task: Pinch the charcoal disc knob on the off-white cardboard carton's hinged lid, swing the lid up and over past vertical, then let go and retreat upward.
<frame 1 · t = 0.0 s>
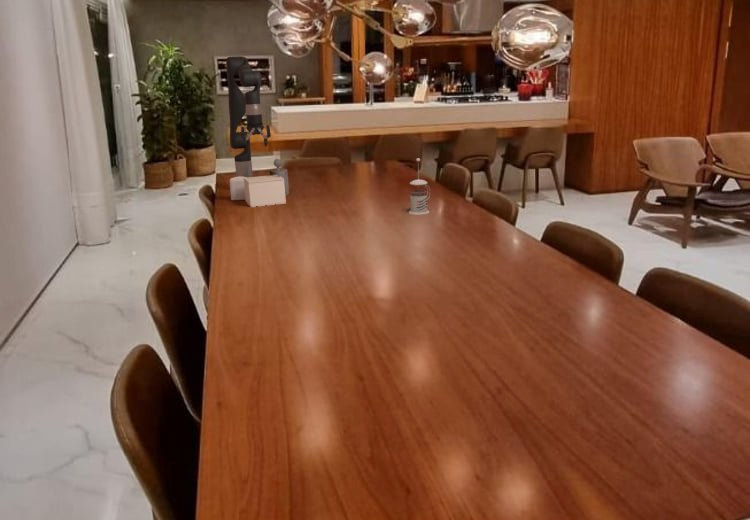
hand: (256, 147, 315), 29 cm above the table, fingers open, 8 cm apart
carton lid: (263, 169, 324), point 17 cm above the table, hinge at 0.0°
carton: (265, 202, 329), on the table
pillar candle: (280, 195, 349), on the table
french press: (420, 212, 296), on the table
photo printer: (241, 199, 340), on the table
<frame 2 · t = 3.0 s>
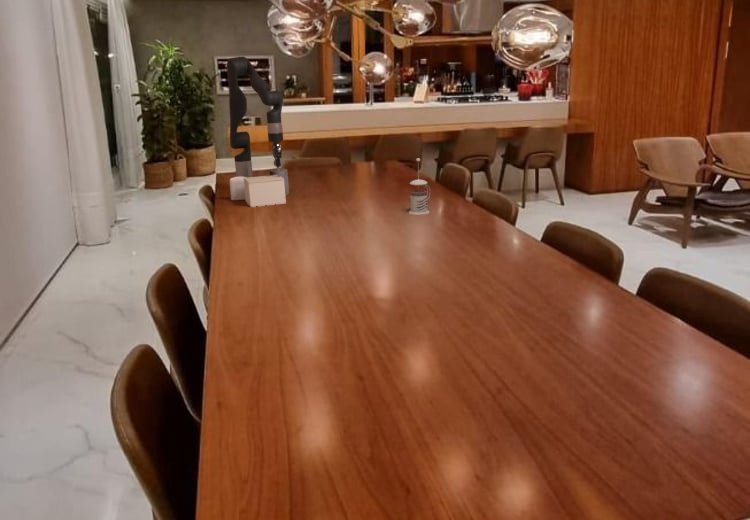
hand: (278, 166, 327), 18 cm above the table, fingers closed
carton lid: (263, 169, 324), point 17 cm above the table, hinge at 0.0°, touching gripper
everything else where it was.
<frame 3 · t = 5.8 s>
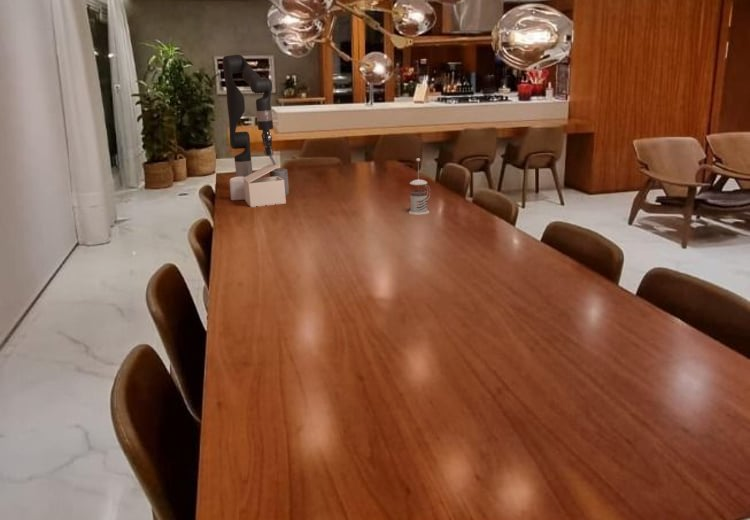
hand: (268, 154, 323), 25 cm above the table, fingers closed
carton lid: (258, 164, 323), point 20 cm above the table, hinge at 22.4°, touching gripper
everything else where it was.
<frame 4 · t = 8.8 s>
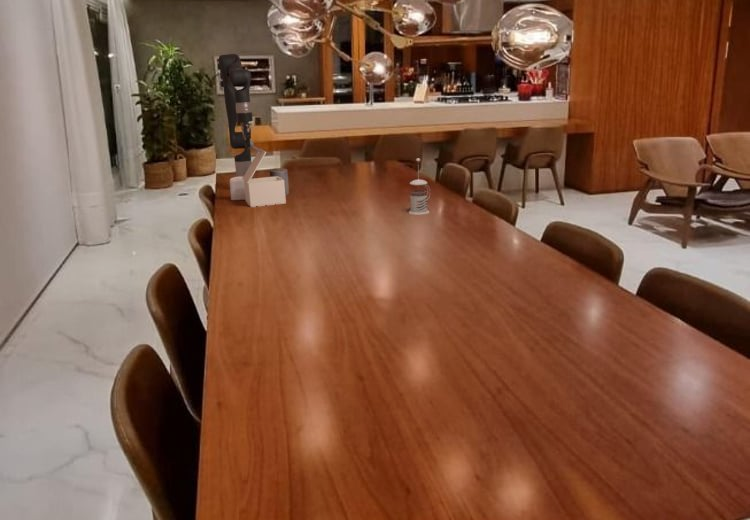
hand: (248, 147, 319), 29 cm above the table, fingers closed
carton lid: (247, 160, 320), point 23 cm above the table, hinge at 54.3°, touching gripper
everything else where it was.
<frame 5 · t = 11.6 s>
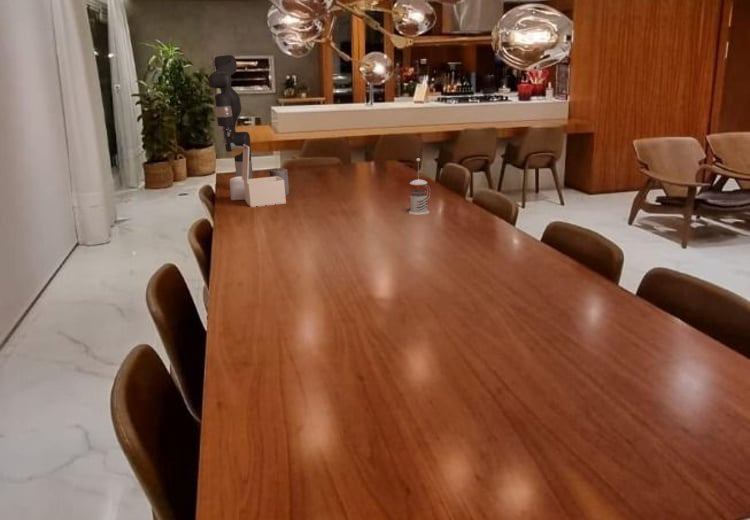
hand: (228, 151, 316), 28 cm above the table, fingers closed
carton lid: (236, 162, 319), point 22 cm above the table, hinge at 82.5°, touching gripper
everything else where it was.
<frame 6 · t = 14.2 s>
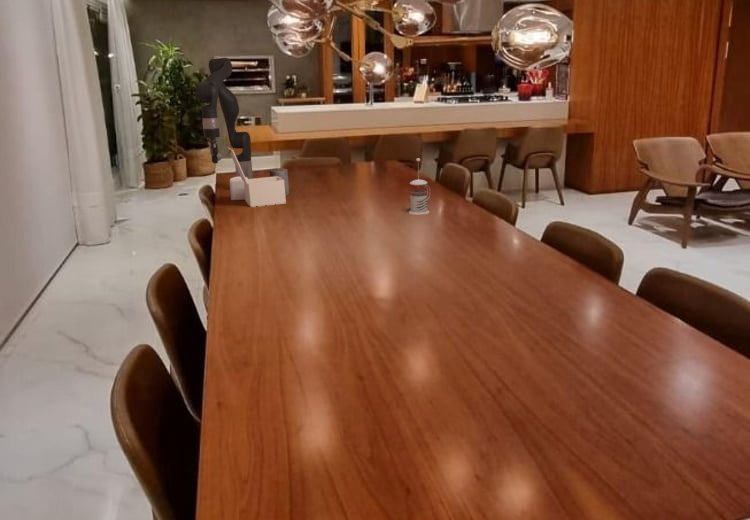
hand: (215, 162, 315), 23 cm above the table, fingers open, 3 cm apart
carton lid: (229, 168, 318), point 19 cm above the table, hinge at 108.4°
everything else where it was.
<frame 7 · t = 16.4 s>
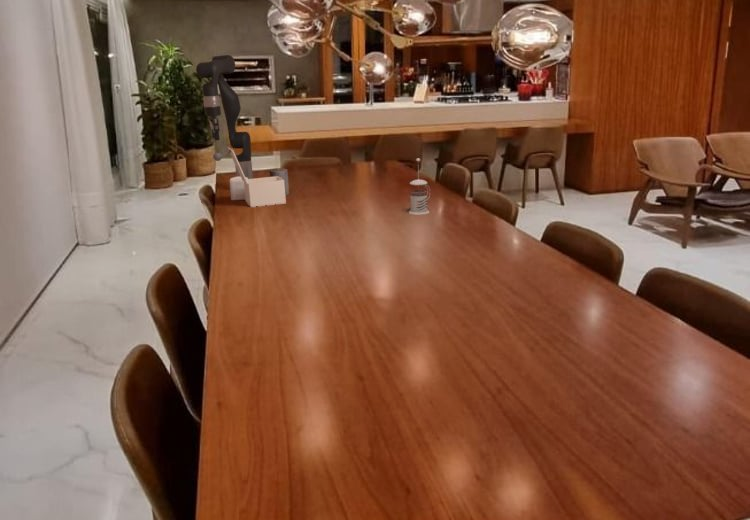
hand: (216, 139, 314), 34 cm above the table, fingers open, 8 cm apart
nothing on the table moved.
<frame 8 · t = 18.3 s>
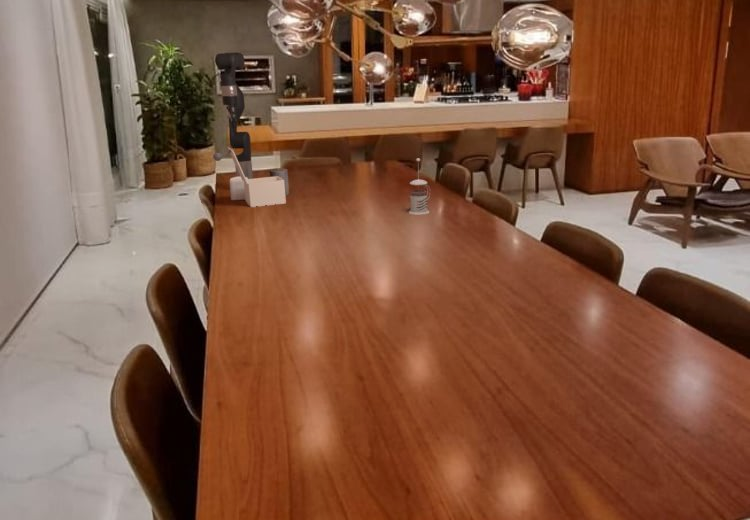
hand: (232, 127, 325), 38 cm above the table, fingers open, 8 cm apart
nothing on the table moved.
at the end: carton lid at +108° (first picture: +0°); the gripper is holding nothing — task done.
